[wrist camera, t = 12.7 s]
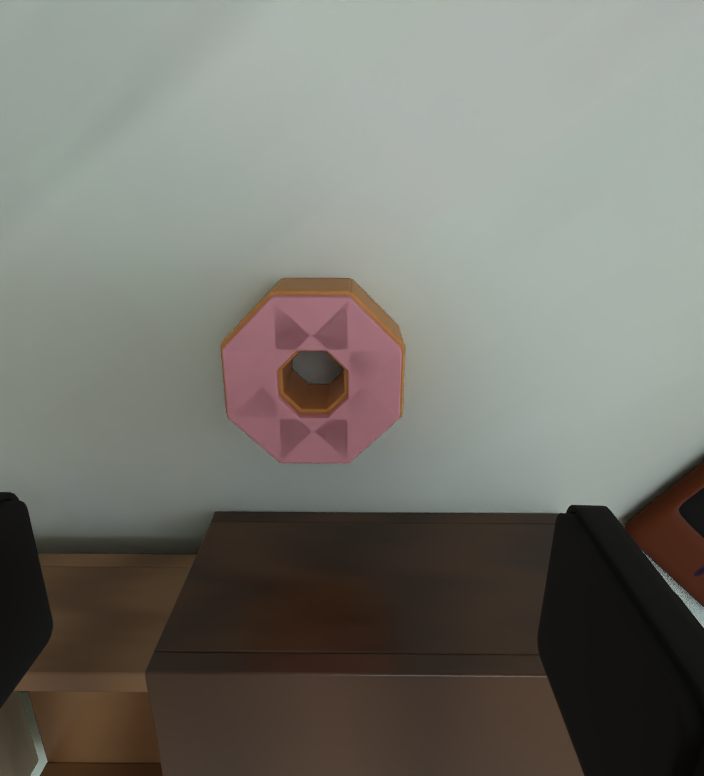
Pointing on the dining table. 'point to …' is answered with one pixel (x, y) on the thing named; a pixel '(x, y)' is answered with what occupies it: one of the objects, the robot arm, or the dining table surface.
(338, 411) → the donut
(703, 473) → the smartphone
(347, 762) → the cabinet
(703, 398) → the dining table surface
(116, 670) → the drawer
